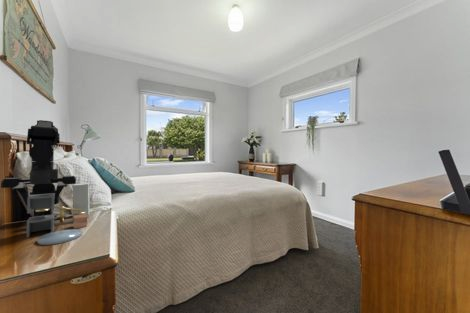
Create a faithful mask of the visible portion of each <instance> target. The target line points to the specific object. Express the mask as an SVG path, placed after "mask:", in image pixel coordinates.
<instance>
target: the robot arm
mask: <svg viewBox="0 0 470 313" xmlns="http://www.w3.org/2000/svg"><path fill="white" fill-rule="evenodd" d="M60 136H61V135H60V133H59V129H58V128H57V127H56V126H55V125H54V121H51V120H42V119H39V120H36V124H34V125H31V126H30V128H27V137H26V145H32V146H31V147H30V149H29V150H28V155H29V157H30V160H31V163H30V164H31V165H30V166H31V167H30V169H31V170H30V172H29V178H27V179H25V178H24V179H22V177H6V178H4V179H2V180H1V182H0V188H1V189H6V188H10V189H12V191H17V192H18V193H19V194H20V196H21V197H22V200H23V203H25V206H26V207H27V198H28V197H29V196H30V195H37V194H50V193H55V199H54V205H57V204H59V201H60V200H59V199H60V195H61V193H62V191H63V190H64V188H66V187H68V185H74V184H77V177H76V176H74V175H62V177H59V168H54V157H55V156H54V153H55V152H54V147H55V146H58V145H59V144H60V143H61V140H60ZM54 184H57V185H56V186H55V185H54ZM28 185H33V186H32V189H31V190H32V191H30V193H29V190H28ZM55 188H56V189H55ZM35 210H37V209H34V210H33V212H32V214H33V216H32V217H36V216H44V215H52V214H54V213H53V212H54V210H53V211H51V208H50V210H48V211H43V212H35ZM56 217H57V215H54V219H55V218H56Z"/></svg>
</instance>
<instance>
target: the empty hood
mask: <svg viewBox="0 0 470 313" xmlns="http://www.w3.org/2000/svg"><path fill="white" fill-rule="evenodd" d="M54 216H55V213H53V214H52V215H44V216H36V217H33V216H31V217H29V218H28V219H27V221H26V238H30V236H31V235H32V233H35V232H42V231H47V230H50V233H52V232H55V231H54V230H55V226H54V221H55V218H54Z"/></svg>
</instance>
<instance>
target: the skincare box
mask: <svg viewBox="0 0 470 313" xmlns="http://www.w3.org/2000/svg"><path fill="white" fill-rule="evenodd" d="M90 207H91V206H90V182H84V183H76V184H72V208H74V209H80V211H85V212H86V213H85V214H86V215H87V218H89V217H90V216H89V215H90V214H91V212H90ZM80 211H77V210H72V218H74V216H77V215H74V213H75V212H80ZM81 215H84V214H81Z"/></svg>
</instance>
